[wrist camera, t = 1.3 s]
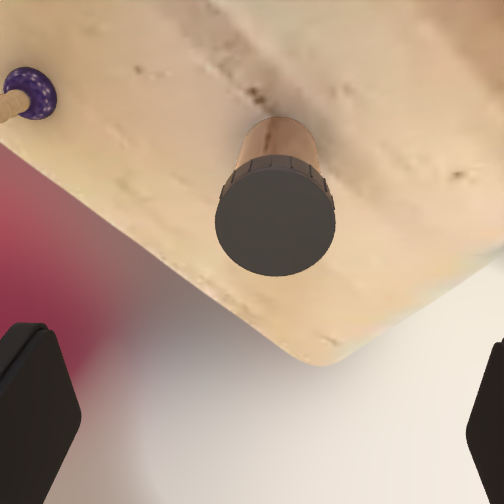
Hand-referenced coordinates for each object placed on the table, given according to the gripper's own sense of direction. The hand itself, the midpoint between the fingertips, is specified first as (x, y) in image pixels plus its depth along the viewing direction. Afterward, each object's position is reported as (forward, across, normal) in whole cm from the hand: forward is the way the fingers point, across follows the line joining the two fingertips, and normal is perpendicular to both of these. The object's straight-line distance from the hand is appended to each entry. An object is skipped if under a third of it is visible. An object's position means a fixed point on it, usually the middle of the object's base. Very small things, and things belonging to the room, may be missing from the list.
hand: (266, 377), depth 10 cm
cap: (+18, 0, +6) cm, 19 cm away
